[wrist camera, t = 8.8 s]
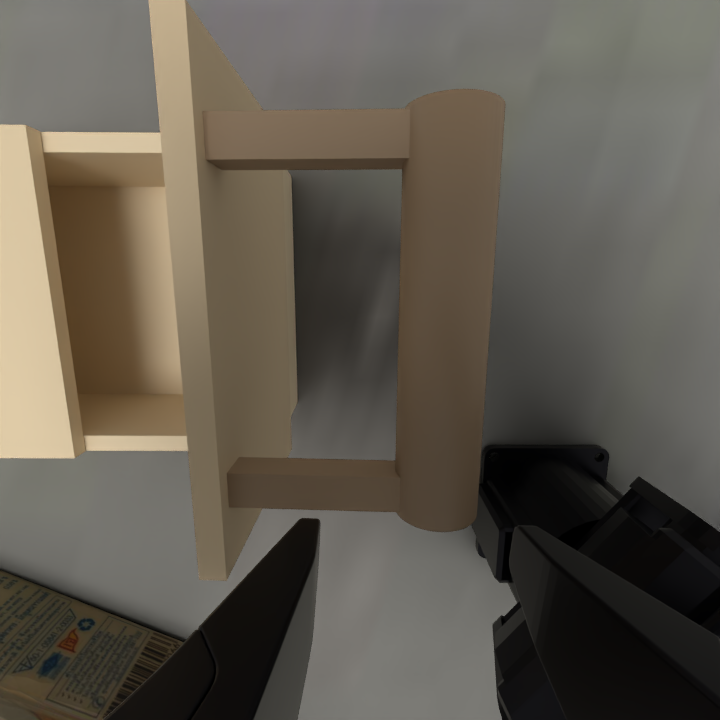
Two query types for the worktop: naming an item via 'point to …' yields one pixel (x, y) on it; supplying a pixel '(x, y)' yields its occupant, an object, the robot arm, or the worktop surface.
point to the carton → (93, 296)
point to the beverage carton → (69, 655)
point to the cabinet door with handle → (269, 290)
